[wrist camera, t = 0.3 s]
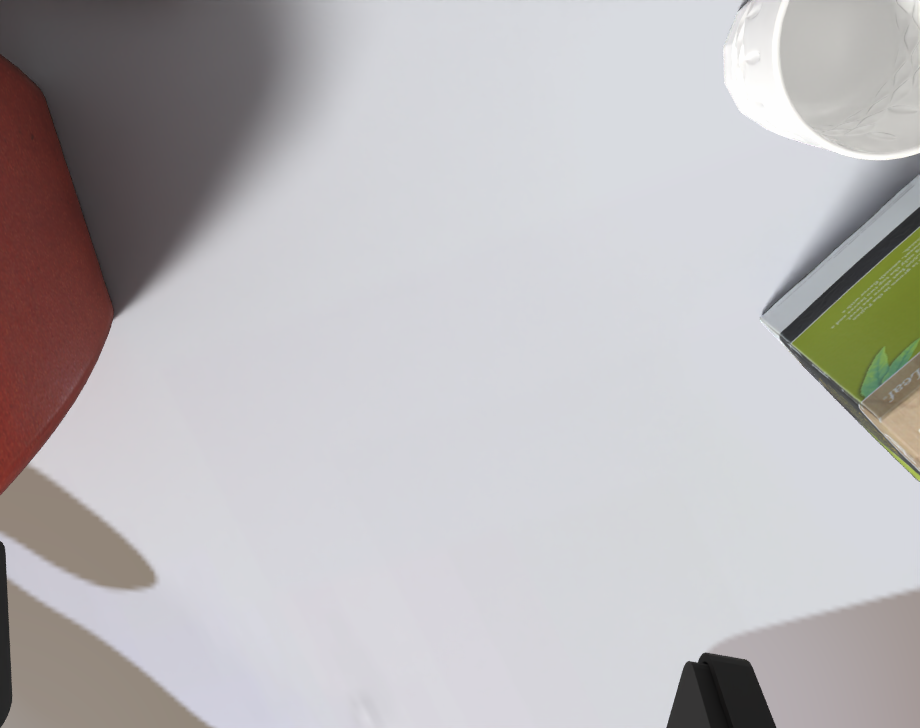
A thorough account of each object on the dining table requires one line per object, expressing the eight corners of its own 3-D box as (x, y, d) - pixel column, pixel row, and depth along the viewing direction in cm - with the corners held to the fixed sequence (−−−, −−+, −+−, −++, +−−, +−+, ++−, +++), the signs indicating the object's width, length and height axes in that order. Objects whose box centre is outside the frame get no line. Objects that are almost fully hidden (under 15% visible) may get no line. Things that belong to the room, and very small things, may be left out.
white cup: (913, -36, 34) (1063, -92, 24) (866, 154, 36) (986, 171, 27) (726, -51, 34) (802, -112, 25) (693, 137, 37) (751, 148, 27)
